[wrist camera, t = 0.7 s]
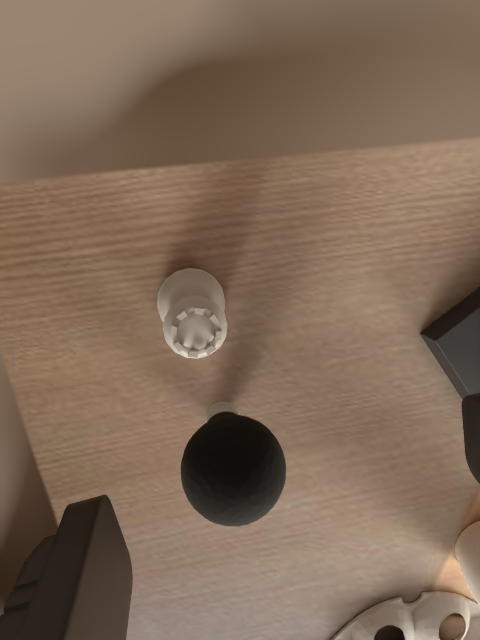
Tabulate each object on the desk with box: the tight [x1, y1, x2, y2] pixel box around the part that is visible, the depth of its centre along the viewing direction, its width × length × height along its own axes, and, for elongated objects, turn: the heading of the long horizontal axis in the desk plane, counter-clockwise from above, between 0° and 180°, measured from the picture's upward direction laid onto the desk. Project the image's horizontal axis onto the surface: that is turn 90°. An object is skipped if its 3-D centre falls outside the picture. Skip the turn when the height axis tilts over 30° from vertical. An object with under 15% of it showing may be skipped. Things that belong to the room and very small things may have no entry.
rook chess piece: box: [157, 268, 228, 358], centre depth 24 cm, size 4×4×8 cm
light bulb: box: [181, 401, 286, 526], centre depth 26 cm, size 6×6×10 cm
